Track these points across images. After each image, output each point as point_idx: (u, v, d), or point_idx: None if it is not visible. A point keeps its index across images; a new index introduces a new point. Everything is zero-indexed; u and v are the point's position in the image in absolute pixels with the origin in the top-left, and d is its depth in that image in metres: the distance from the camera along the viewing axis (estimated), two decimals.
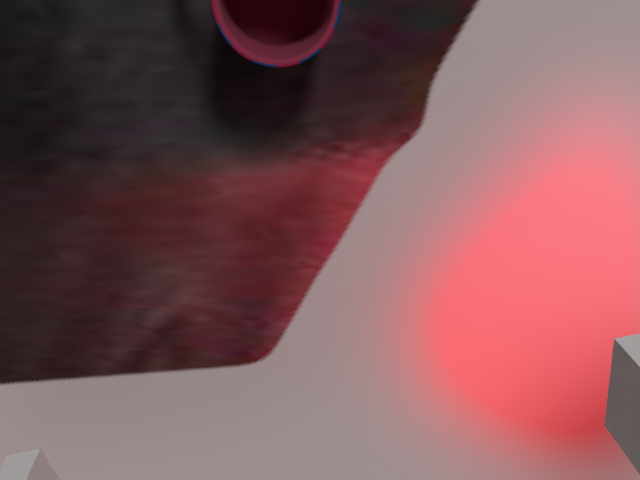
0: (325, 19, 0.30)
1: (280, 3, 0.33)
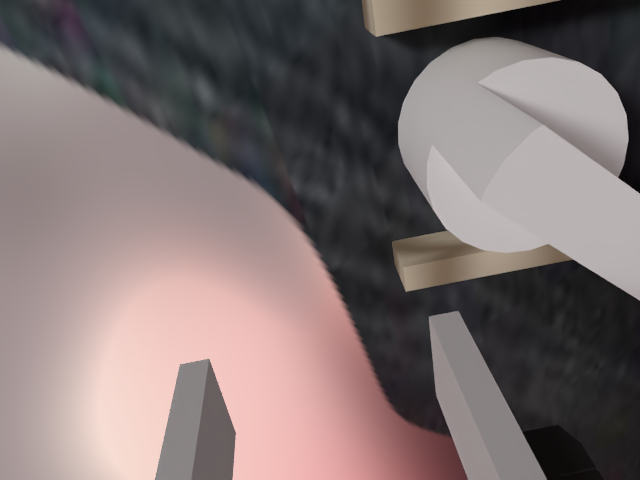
0: None
1: None
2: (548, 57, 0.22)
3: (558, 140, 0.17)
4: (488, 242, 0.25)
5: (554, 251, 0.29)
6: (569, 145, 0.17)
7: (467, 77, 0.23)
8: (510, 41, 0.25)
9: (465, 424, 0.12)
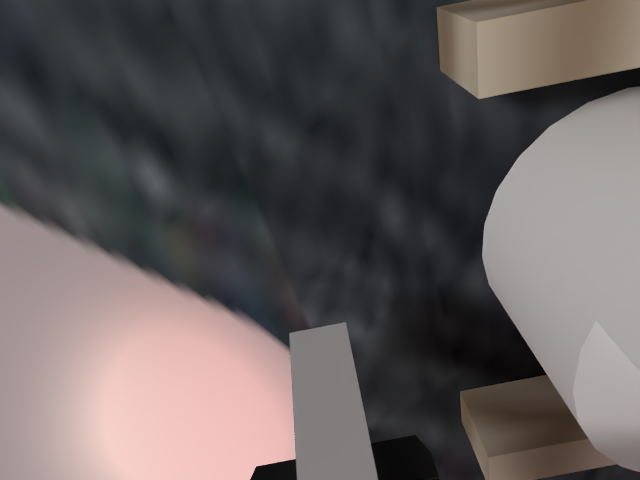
0: None
1: None
2: None
3: None
4: None
5: None
6: None
7: None
8: None
9: None
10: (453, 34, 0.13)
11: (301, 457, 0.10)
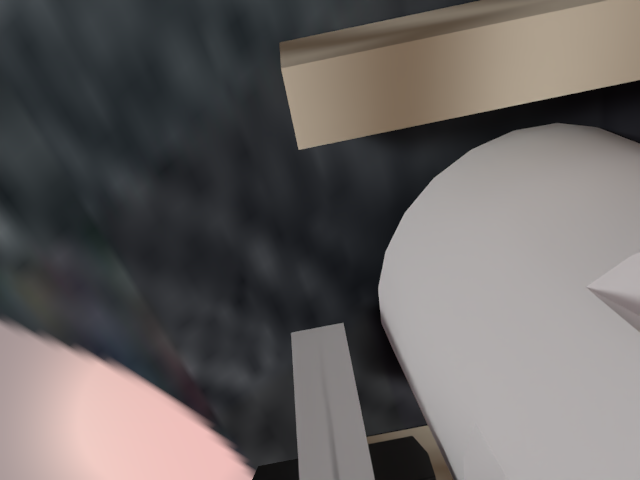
0: None
1: None
2: None
3: None
4: None
5: None
6: None
7: (545, 255, 0.09)
8: (598, 139, 0.12)
9: None
10: None
11: (303, 457, 0.10)
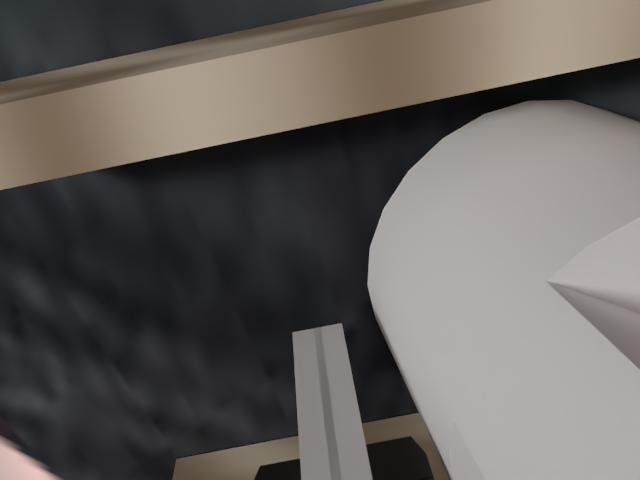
0: None
1: None
2: None
3: None
4: None
5: None
6: None
7: (509, 249, 0.09)
8: (567, 115, 0.12)
9: None
10: None
11: (305, 456, 0.10)
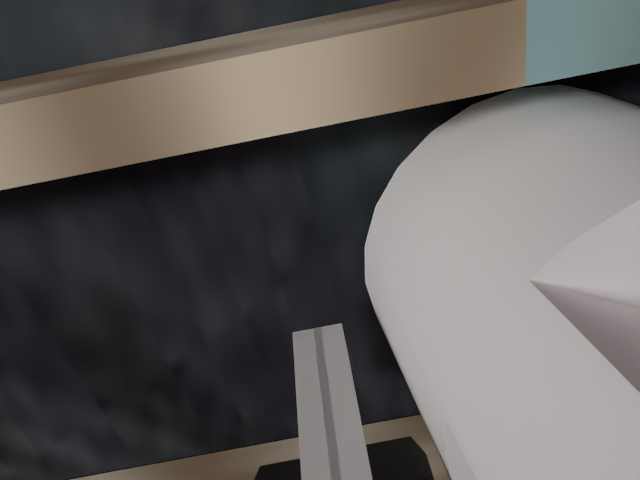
0: None
1: None
2: None
3: None
4: None
5: None
6: None
7: (495, 247, 0.09)
8: (554, 103, 0.12)
9: None
10: None
11: (305, 456, 0.10)
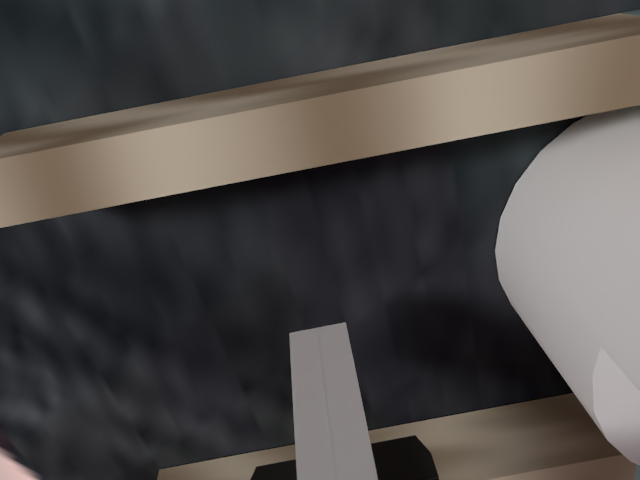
0: None
1: None
2: None
3: None
4: None
5: None
6: None
7: None
8: None
9: None
10: None
11: (301, 457, 0.10)
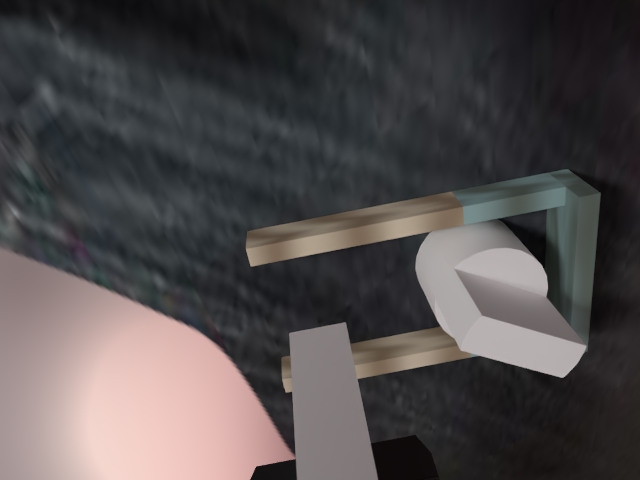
0: None
1: None
2: (489, 249, 0.40)
3: (491, 320, 0.35)
4: None
5: (375, 369, 0.48)
6: (497, 320, 0.35)
7: (448, 260, 0.41)
8: None
9: None
10: None
11: (301, 457, 0.10)
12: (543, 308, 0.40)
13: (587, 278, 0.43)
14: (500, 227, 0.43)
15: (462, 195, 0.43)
